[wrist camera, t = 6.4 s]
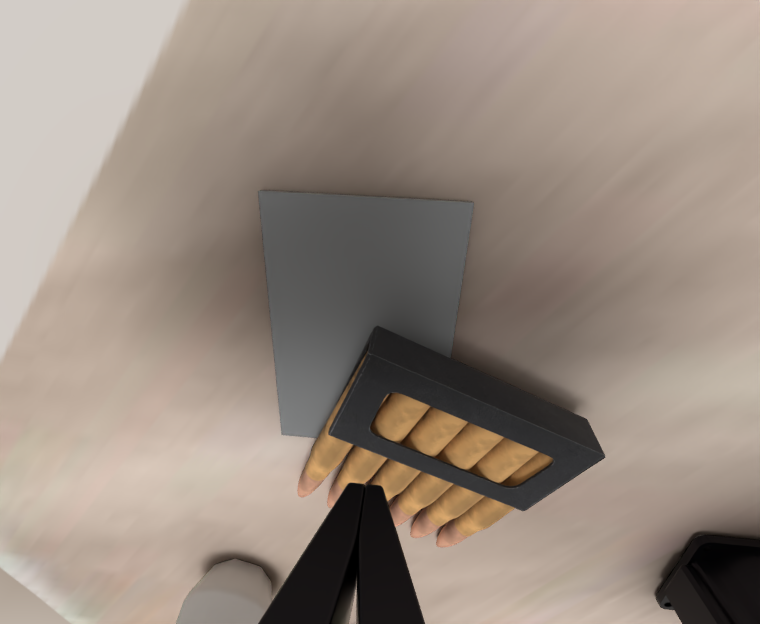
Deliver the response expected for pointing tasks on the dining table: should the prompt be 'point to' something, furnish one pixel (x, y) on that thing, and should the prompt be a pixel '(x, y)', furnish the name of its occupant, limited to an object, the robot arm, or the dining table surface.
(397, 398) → the ammunition clip
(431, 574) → the dining table surface
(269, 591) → the salt shaker
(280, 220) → the mat
